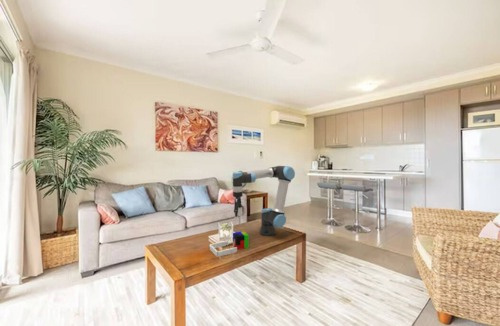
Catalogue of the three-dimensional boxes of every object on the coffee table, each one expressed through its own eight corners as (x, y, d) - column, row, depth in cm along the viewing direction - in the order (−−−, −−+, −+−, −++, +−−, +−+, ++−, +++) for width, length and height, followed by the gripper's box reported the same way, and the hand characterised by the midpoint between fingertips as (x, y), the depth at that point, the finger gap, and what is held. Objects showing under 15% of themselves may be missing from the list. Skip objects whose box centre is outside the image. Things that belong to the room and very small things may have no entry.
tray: (227, 244, 177) (227, 240, 177) (236, 252, 164) (236, 247, 164) (209, 249, 169) (209, 244, 169) (217, 257, 155) (217, 252, 155)
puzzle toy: (232, 244, 177) (232, 232, 177) (244, 243, 181) (244, 231, 181) (236, 249, 168) (236, 237, 168) (248, 247, 171) (248, 235, 171)
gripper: (236, 188, 184) (236, 213, 185) (229, 194, 160) (230, 222, 160) (244, 188, 183) (245, 213, 184) (239, 194, 159) (240, 223, 160)
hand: (238, 218), depth 172 cm, fingers open, 13 cm apart
